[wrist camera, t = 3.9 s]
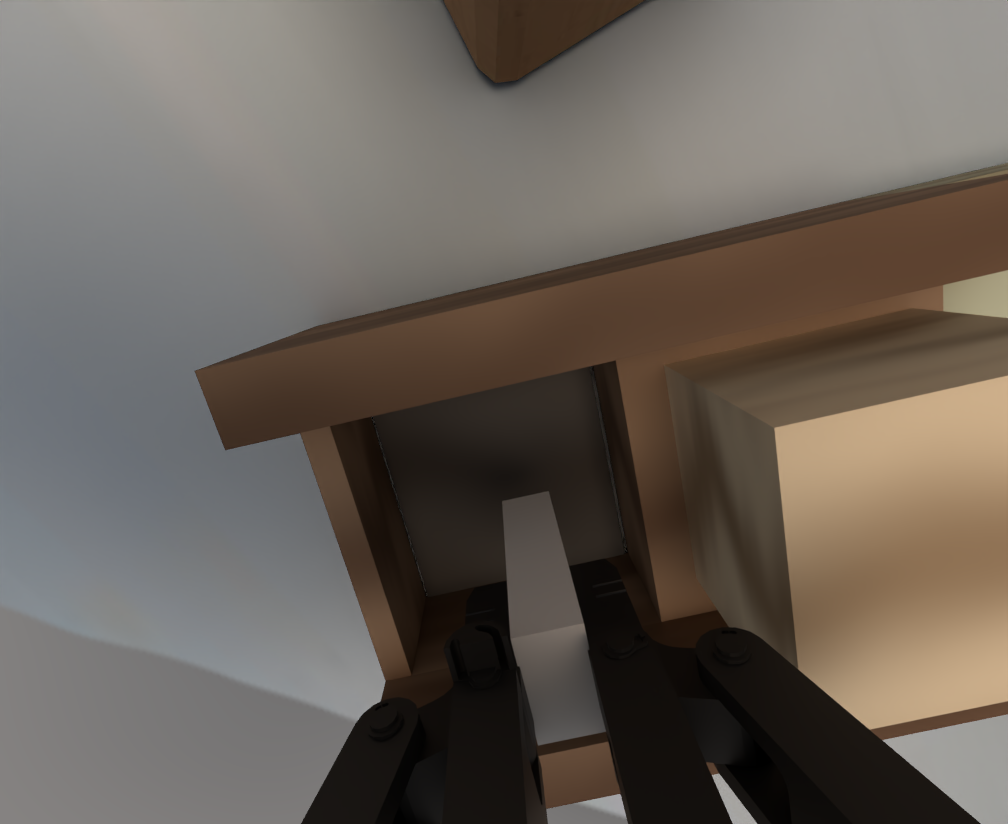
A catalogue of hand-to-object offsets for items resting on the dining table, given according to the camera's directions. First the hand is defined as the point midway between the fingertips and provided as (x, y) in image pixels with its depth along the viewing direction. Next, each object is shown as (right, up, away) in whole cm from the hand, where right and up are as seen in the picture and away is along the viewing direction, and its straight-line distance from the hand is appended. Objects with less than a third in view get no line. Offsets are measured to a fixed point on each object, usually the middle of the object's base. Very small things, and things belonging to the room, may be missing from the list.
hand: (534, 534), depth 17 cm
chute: (+8, +4, +6) cm, 11 cm away
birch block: (+9, +3, +1) cm, 9 cm away
